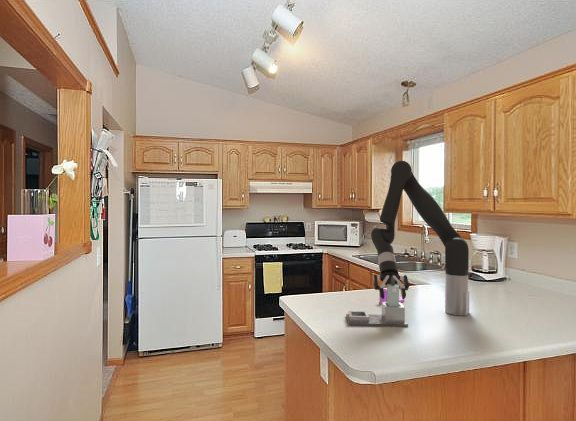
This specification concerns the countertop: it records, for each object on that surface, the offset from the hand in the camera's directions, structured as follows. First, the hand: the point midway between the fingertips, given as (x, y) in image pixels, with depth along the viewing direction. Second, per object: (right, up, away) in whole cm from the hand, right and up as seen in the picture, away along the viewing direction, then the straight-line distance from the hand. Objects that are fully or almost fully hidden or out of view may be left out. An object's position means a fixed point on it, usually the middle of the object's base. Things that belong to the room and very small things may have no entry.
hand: (393, 298), depth 147 cm
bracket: (+9, -10, +32) cm, 34 cm away
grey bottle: (0, -5, +2) cm, 5 cm away
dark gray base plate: (-7, -10, +2) cm, 12 cm away
